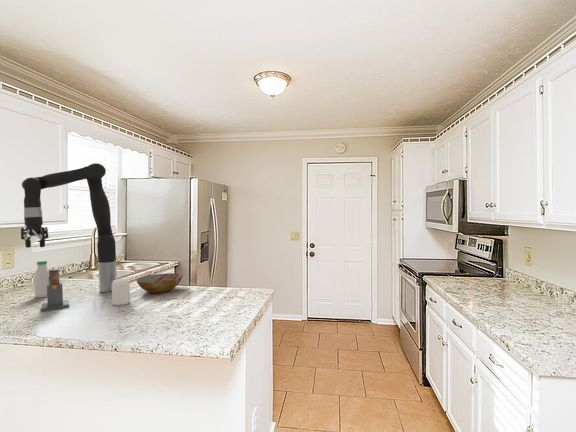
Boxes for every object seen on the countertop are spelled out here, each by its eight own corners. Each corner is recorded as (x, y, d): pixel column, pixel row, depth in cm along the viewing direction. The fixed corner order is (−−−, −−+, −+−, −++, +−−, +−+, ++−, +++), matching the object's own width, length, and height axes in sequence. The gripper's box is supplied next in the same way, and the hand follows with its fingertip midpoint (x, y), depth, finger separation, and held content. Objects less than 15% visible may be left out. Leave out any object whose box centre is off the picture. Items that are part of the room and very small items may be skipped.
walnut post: (60, 301, 168) (58, 268, 167) (60, 303, 164) (58, 269, 164) (50, 303, 166) (48, 269, 165) (50, 305, 162) (48, 270, 162)
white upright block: (108, 305, 166) (107, 281, 165) (123, 300, 173) (122, 278, 173) (119, 306, 162) (118, 282, 162) (133, 302, 169) (132, 279, 169)
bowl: (167, 297, 177) (167, 282, 176) (126, 296, 182) (125, 282, 182) (190, 286, 201) (190, 273, 201) (153, 285, 206) (153, 273, 206)
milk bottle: (45, 298, 183) (43, 262, 183) (31, 298, 184) (29, 262, 183) (55, 294, 191) (53, 259, 191) (42, 294, 191) (40, 260, 191)
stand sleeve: (68, 302, 173) (67, 280, 172) (69, 307, 164) (68, 284, 163) (42, 306, 166) (41, 283, 166) (41, 311, 157) (40, 287, 157)
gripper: (51, 215, 175) (53, 246, 175) (28, 216, 177) (30, 246, 178) (38, 216, 167) (40, 248, 168) (14, 217, 170) (16, 248, 170)
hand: (35, 247), depth 173 cm, fingers open, 8 cm apart
